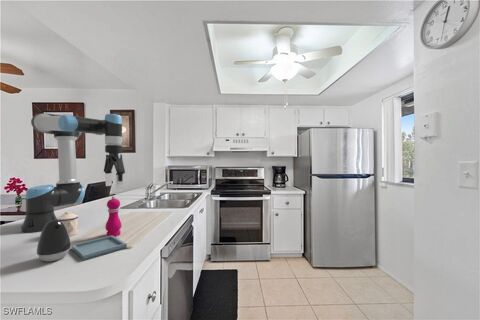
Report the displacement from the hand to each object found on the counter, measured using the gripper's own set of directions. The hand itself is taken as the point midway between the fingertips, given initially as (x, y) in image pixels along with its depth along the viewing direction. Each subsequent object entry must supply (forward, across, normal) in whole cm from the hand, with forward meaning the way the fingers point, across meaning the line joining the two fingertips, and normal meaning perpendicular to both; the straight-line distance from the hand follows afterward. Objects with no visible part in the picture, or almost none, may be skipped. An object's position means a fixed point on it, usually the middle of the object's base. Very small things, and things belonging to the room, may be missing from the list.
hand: (113, 186), depth 114 cm
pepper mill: (+25, 0, 0) cm, 25 cm away
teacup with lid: (+25, +18, +15) cm, 34 cm away
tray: (+25, -14, +11) cm, 30 cm away
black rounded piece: (+25, -11, +26) cm, 37 cm away
